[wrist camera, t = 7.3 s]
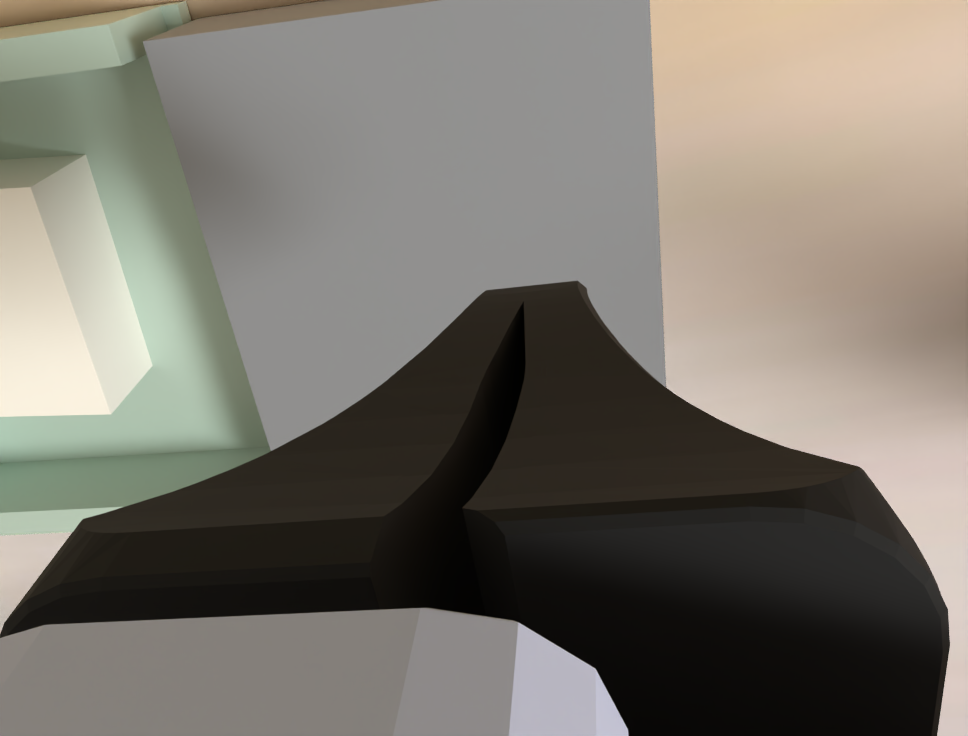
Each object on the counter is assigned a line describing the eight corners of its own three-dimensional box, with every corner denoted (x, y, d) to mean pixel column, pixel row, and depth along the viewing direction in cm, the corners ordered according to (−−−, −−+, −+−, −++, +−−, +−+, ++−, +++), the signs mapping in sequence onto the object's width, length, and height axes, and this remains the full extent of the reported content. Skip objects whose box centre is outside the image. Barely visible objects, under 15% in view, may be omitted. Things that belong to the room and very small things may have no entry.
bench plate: (661, 425, 24) (670, 492, 22) (318, 445, 26) (289, 510, 23) (639, -45, 19) (648, -29, 16) (198, 18, 20) (142, 41, 18)
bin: (315, 457, 26) (286, 522, 24) (-4, 475, 28) (-64, 538, 25) (186, 0, 20) (126, 21, 17) (-216, 58, 22) (-324, 85, 19)
